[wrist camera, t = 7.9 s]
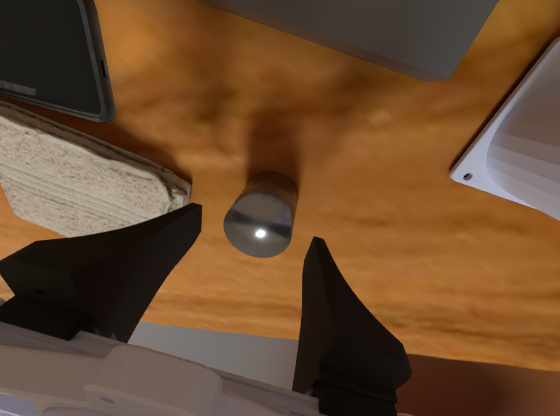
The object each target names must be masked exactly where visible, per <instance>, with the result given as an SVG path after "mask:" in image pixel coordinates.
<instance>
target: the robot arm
mask: <svg viewBox="0 0 560 416" xmlns="http://www.w3.org/2000/svg"><path fill="white" fill-rule="evenodd" d="M468 173H469V175H468V176H467V177H466V178H463V177H464V175H466V174H468ZM449 176H450V178H451V179H453V180H454V181H457V182H460V183H463V184H466V185H468V186H471V187H474V188H477V189H480V190H483V191H486V192H489V193H492V194H494V195H497V196H500V197H503V198H506V199H509V200H512V201H515V202H518V203H520V204H523V205H526V206H529V207H532V208H535V209H538V210H541V211H542V212H544V213H546V214H548V215H550V216H552V217H553V218H555V219H557V220H559V221H560V36H559V37H558V38H556V39H555V40H554V41H553V42H552V43H551V44H550V45H549V47H548V48H547V49H546V50H545V52H544V53H543V54H542V55H541V57H540V58H539V59H538V61H537V62H536V63H535V64H534V66H533V67H532V68H531V69H530V71H529V72H528V73H527V74H526V76H525V77H524V78H523V80H522V81H521V82H520V83H519V85H518V86H517V87H516V88H515V90H514V91H513V92H512V93H511V95H510V96H509V97H508V99H507V100H506V101H505V102H504V104H503V105H502V106H501V107H500V109H499V110H498V111H497V112H496V114H495V115H494V116H493V118H492V119H491V120H490V121H489V123H488V124H487V125H486V126H485V128H484V129H483V130H482V131H481V133H480V134H479V135H478V137H477V138H476V139H475V140H474V142H473V143H472V144H471V145H470V147H469V148H468V149H467V150H466V152H465V153H464V154H463V156H462V157H461V158H460V159H459V161H458V162H457V163H456V164H455V166H454V167H453V168H452V169H451V171H450V173H449ZM201 224H202V205H199V204H196V203H191V204H188V205H185V206H183V207H181V208H178V209H176V210H173V211H171V212H168V213H166V214H163V215H161V216H158V217H155V218H153V219H150V220H147V221H144V222H141V223H138V224H135V225H131V226H127V227H124V228H120V229H115V230H110V231H106V232H101V233H96V234H90V235H84V236H77V237H70V238H61V239H52V240H41V241H35V242H33V243H31V244H30V245H28V246H26V247H24V248H22V249H21V250H19V251H17V252H15V253H13V254H11V255H10V256H8V257H6V258H4V259H2V260H0V274H1V276H2V278H3V279H4V280H5V282H6V283H7V284H8V286H9V287H10V289H11V290H12V291H13V293H14V294H15V296H14V297H12V298H11V299H9V300H8V301H5V300H3V299H1V298H0V416H413V415H409V414H405V413H398V414H397V413H396V409H395V405H394V403H395V404H396V403H397V396H396V393H395V390H396V389H397V388H399V387H400V386H401V385H403V384H404V383H406V382H407V380H409V379H410V377H411V375H412V369H411V366H410V363H409V360H408V357H407V354H406V352H405V349H404V347H403V344H402V343H401V342H400V341H399V340H398V339H397V338H396V337H394V336H393V335H392V334H391V333H390V332H389V331H388V330H387V329H386V328H385V327H384V326H383V325H382V324H381V323H380V322H379V321H378V320H377V319H376V318H375V317H374V316H373V315H372V314H371V313H370V312H369V310H368V309H367V308H366V307H365V306H364V305H363V303H362V302H361V301H360V300H359V299H358V297H357V296H356V295H355V294H354V292H353V291H352V289H351V288H350V287H349V285H348V284H347V282H346V281H345V279H344V278H343V276H342V274H341V273H340V271H339V269H338V267H337V266H336V264H335V262H334V260H333V258H332V256H331V254H330V252H329V250H328V247H327V245H326V243H325V241H324V239H322V238H318V237H315V236H314V237H313V240H312V242H311V245H310V247H309V250H308V252H307V254H306V257H305V259H304V266H303V274H302V317H301V327H300V335H299V344H298V352H297V359H296V366H295V374H294V380H293V387H292V391H290V390H287V389H283V388H279V387H277V386H273V385H269V384H266V383H262V382H259V381H256V380H252V379H248V378H245V377H242V376H238V375H235V374H231V373H228V372H224V371H221V370H217V369H214V368H210V367H207V366H205V365H202V364H200V363H197V362H193V361H190V360H186V359H183V358H180V357H176V356H173V355H169V354H166V353H162V352H159V351H155V350H152V349H148V348H145V347H141V346H137V345H131V344H127V342H128V340H129V339H130V337H131V335H132V333H133V331H134V329H135V328H136V326H137V324H138V323H139V321H140V319H141V317H142V316H143V314H144V312H145V311H146V309H147V307H148V306H149V304H150V302H151V301H152V299H153V298H154V296H155V294H156V293H157V291H158V290H159V288H160V287H161V285H162V284H163V282H164V281H165V279H166V278H167V276H168V275H169V273H170V272H171V271H172V270H173V268H174V267H175V266H176V265H177V264H178V262H179V261H180V260H181V259H182V257H183V256H184V255H185V254H186V252H187V251H188V250H189V249H190V248H191V246H192V245H193V244H194V242H195V241H196V239H197V237H198V236H199V234H200V232H201Z"/></svg>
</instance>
